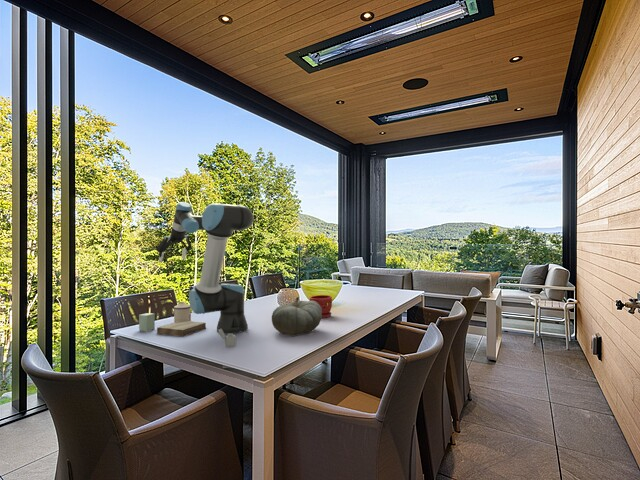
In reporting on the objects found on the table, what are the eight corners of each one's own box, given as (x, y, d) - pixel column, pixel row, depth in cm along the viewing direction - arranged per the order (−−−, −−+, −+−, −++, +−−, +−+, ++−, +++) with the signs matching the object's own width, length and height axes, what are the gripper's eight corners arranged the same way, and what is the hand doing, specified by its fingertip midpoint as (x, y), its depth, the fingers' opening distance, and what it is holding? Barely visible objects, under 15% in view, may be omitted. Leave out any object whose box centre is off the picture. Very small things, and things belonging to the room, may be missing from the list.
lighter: (234, 345, 148) (234, 326, 148) (235, 346, 147) (235, 327, 147) (217, 347, 144) (217, 328, 145) (219, 348, 143) (218, 329, 143)
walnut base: (205, 328, 178) (205, 322, 178) (183, 336, 163) (182, 330, 163) (181, 326, 184) (181, 320, 184) (157, 333, 169) (157, 327, 169)
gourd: (334, 324, 172) (328, 290, 171) (306, 345, 151) (298, 307, 150) (295, 323, 186) (289, 292, 185) (264, 342, 165) (257, 307, 164)
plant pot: (318, 313, 213) (318, 294, 213) (336, 316, 206) (336, 295, 206) (305, 317, 203) (305, 296, 203) (323, 320, 195) (323, 298, 195)
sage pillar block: (154, 329, 178) (154, 313, 178) (146, 331, 173) (146, 315, 173) (147, 328, 180) (147, 313, 180) (139, 330, 175) (139, 314, 175)
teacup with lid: (193, 322, 191) (193, 301, 192) (176, 325, 186) (176, 303, 186) (187, 319, 201) (187, 299, 201) (170, 321, 196) (170, 300, 196)
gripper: (196, 224, 204) (189, 253, 212) (153, 225, 185) (147, 258, 194) (202, 230, 200) (195, 260, 208) (159, 233, 181) (152, 266, 190)
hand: (172, 259), depth 201 cm, fingers open, 13 cm apart
